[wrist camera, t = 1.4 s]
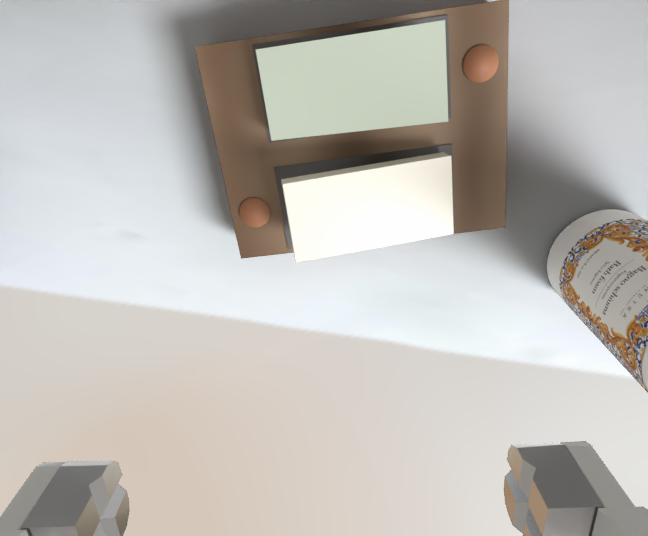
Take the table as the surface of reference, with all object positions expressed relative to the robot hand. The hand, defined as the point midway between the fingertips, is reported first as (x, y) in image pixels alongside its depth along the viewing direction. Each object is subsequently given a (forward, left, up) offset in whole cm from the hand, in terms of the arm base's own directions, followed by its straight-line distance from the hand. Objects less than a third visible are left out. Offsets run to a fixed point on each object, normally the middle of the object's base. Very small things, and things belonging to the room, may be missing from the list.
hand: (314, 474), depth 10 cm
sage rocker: (-2, -7, -19) cm, 20 cm away
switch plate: (-2, -3, -23) cm, 23 cm away
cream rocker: (-2, 0, -19) cm, 19 cm away
